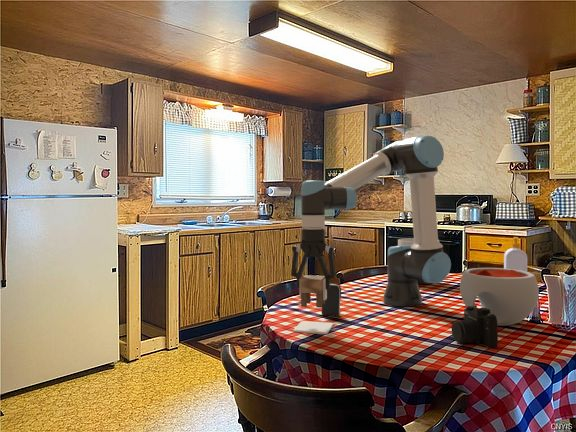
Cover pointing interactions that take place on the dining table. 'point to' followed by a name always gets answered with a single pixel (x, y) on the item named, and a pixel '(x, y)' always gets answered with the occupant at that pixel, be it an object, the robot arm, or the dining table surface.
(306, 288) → the stool
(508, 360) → the dining table surface
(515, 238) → the soap bottle
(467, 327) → the camera
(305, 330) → the mat
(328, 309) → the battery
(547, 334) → the dining table surface
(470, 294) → the pot
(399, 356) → the dining table surface
